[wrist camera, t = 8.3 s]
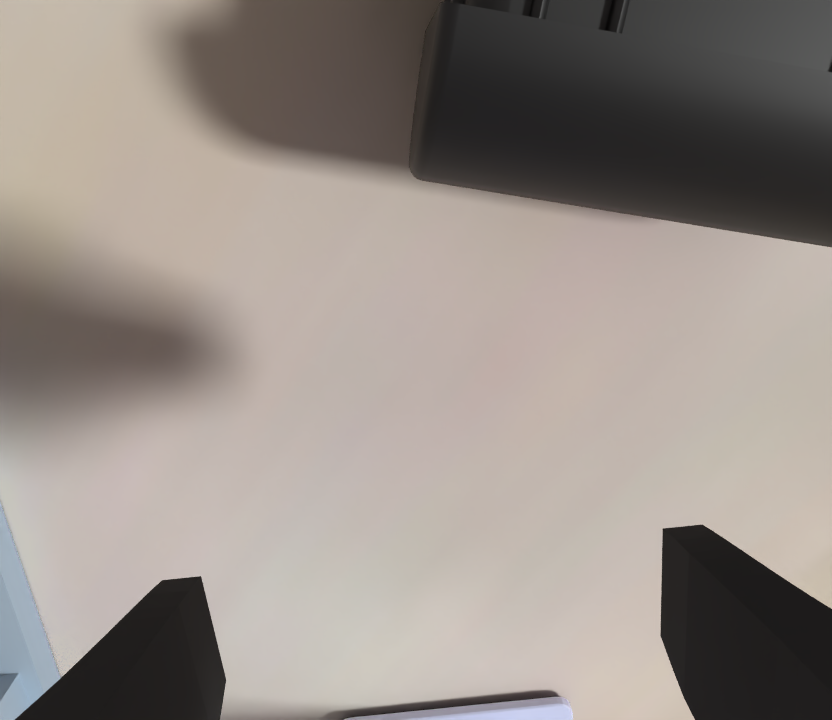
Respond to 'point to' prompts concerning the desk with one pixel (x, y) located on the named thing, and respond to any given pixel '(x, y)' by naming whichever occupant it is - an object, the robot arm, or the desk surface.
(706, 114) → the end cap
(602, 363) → the desk surface
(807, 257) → the desk surface
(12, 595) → the display stand
